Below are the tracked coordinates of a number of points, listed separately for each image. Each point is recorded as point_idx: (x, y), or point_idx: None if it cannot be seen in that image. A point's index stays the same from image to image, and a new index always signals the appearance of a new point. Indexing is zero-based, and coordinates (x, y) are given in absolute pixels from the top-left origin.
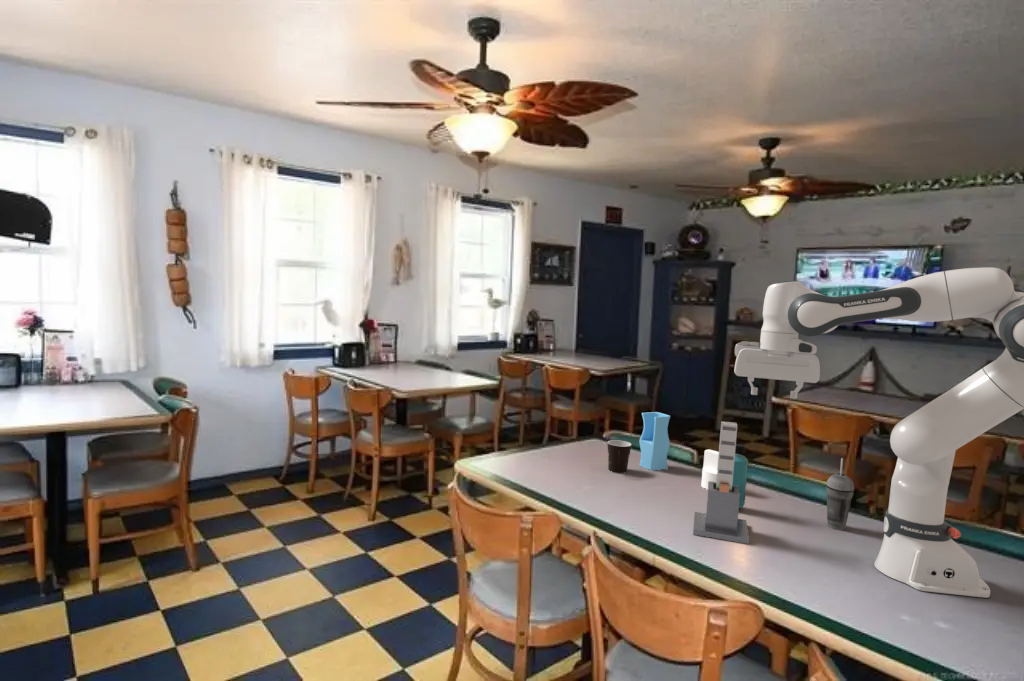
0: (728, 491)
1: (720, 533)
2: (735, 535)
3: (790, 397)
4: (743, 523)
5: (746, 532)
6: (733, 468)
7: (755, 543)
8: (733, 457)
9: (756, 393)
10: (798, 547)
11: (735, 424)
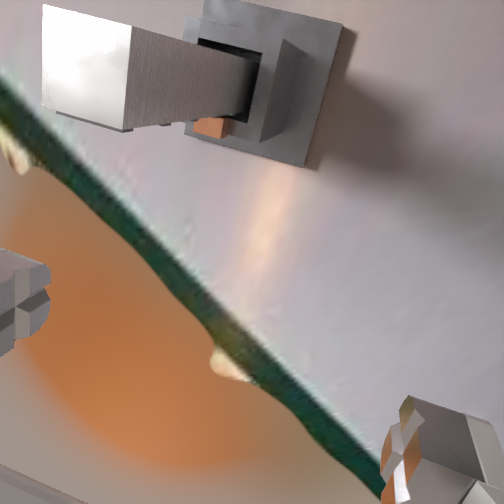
0: (224, 136)
1: (241, 147)
2: (274, 153)
3: (401, 416)
4: (323, 58)
5: (309, 127)
6: (214, 116)
7: (323, 156)
8: (193, 121)
9: (28, 329)
10: (430, 161)
11: (116, 86)
